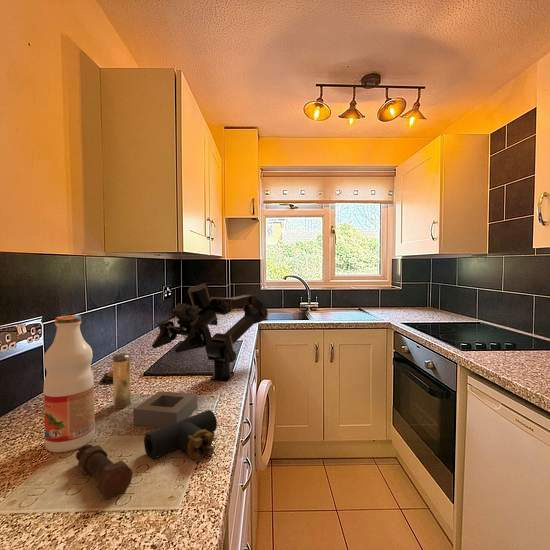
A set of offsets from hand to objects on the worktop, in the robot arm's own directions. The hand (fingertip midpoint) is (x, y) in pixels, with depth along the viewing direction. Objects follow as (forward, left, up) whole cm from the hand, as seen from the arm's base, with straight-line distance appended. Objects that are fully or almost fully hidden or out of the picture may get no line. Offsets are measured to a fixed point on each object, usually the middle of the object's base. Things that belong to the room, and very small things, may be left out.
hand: (163, 349), depth 90 cm
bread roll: (-16, -28, -17) cm, 36 cm away
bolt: (+30, +4, -16) cm, 35 cm away
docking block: (+6, +4, -16) cm, 18 cm away
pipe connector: (+18, +17, -16) cm, 30 cm away
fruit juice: (+21, -11, -16) cm, 29 cm away
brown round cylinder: (+2, -12, -16) cm, 20 cm away
